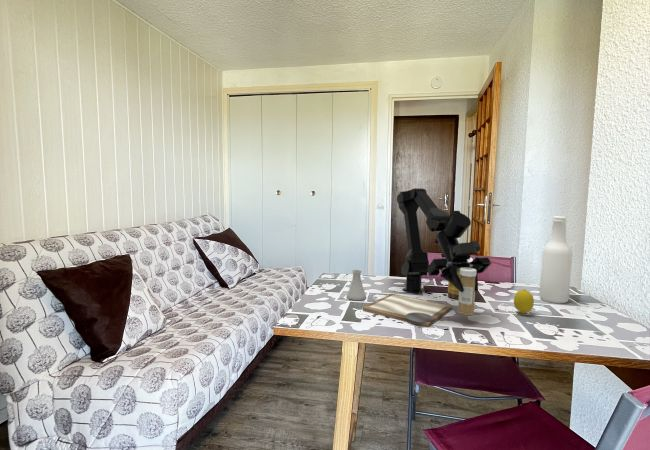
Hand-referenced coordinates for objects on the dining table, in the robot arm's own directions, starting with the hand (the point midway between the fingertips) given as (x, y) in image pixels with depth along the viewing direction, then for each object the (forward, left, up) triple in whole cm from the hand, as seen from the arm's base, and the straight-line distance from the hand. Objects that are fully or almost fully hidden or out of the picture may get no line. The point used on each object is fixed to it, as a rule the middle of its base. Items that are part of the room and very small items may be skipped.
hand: (469, 290), depth 104 cm
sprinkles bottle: (-1, -1, -7) cm, 7 cm away
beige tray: (0, -19, -10) cm, 21 cm away
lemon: (-20, +11, -10) cm, 25 cm away
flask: (0, -39, -10) cm, 40 cm away
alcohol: (-43, +17, -10) cm, 47 cm away
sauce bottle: (-24, -11, -10) cm, 28 cm away
